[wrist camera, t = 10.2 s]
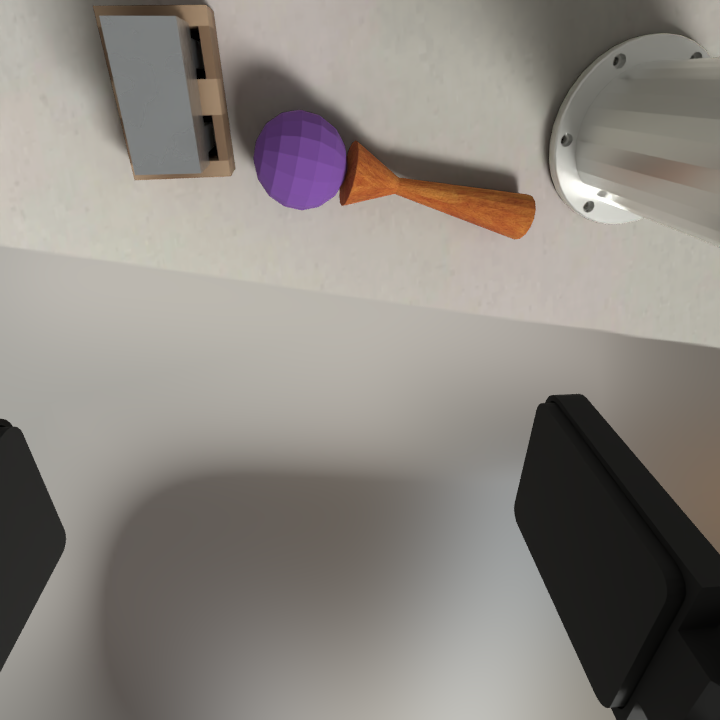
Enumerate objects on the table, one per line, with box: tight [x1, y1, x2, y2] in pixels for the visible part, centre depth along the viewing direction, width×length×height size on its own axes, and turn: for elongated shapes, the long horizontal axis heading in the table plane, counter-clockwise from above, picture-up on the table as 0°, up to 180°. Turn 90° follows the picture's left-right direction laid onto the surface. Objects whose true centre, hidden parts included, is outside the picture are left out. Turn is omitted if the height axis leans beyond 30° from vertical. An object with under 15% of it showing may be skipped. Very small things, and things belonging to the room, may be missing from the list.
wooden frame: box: [93, 5, 235, 180], centre depth 30 cm, size 6×9×3 cm, turn 1°
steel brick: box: [99, 16, 216, 175], centre depth 29 cm, size 4×7×7 cm, turn 0°
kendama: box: [254, 110, 536, 239], centre depth 34 cm, size 6×6×20 cm
